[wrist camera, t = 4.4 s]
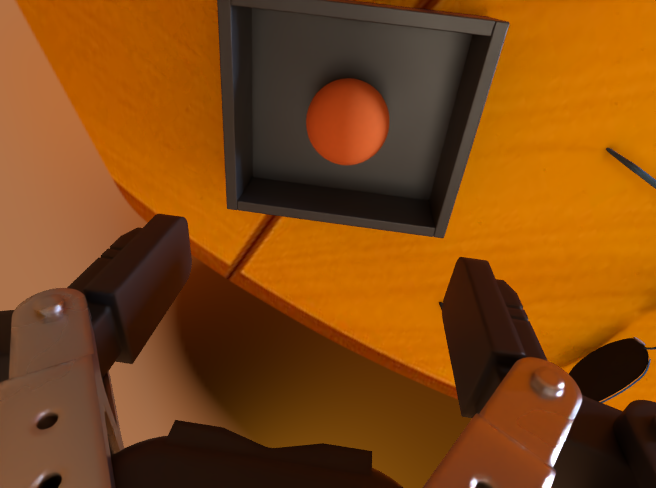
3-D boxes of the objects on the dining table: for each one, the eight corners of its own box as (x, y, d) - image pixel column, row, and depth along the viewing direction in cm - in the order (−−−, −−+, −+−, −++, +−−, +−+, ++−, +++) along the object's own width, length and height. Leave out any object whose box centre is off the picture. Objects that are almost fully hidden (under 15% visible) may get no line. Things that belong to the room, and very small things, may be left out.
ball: (309, 144, 27) (297, 172, 23) (315, 66, 25) (302, 82, 21) (381, 153, 27) (382, 183, 23) (394, 76, 25) (399, 94, 20)
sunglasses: (559, 375, 38) (576, 419, 33) (436, 291, 36) (437, 327, 32) (751, 253, 29) (807, 292, 25) (599, 136, 28) (631, 157, 23)
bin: (245, 181, 30) (226, 209, 26) (242, -13, 23) (216, -13, 19) (435, 206, 30) (443, 238, 26) (487, 16, 23) (510, 22, 19)
